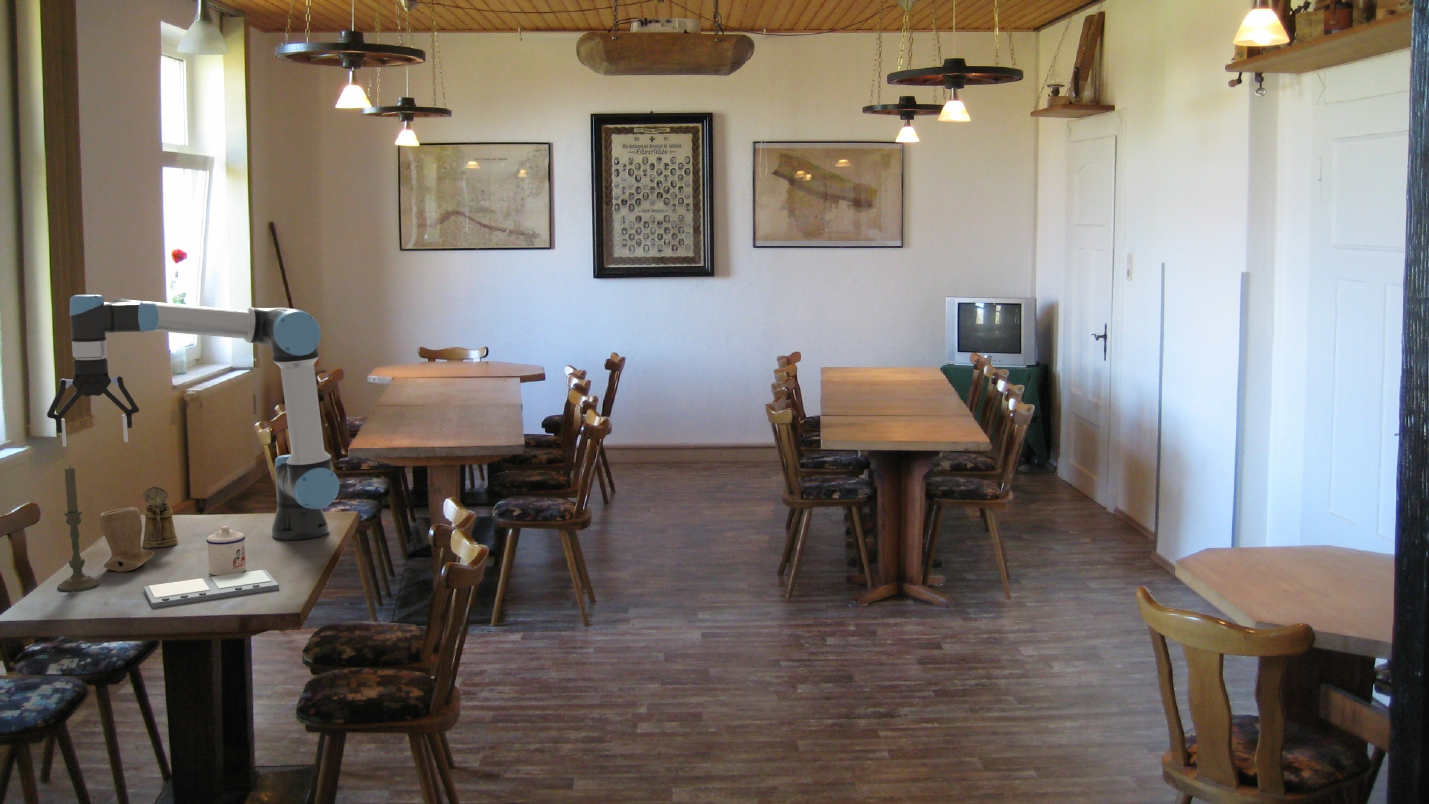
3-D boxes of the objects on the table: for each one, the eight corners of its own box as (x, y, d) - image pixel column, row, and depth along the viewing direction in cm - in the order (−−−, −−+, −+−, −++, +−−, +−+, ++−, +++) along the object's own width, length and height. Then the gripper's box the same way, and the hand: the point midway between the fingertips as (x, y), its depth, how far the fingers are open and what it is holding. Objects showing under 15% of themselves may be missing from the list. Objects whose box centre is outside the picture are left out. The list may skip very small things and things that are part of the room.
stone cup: (113, 558, 324) (109, 502, 322) (160, 557, 325) (156, 501, 323) (90, 574, 309) (86, 516, 307) (140, 573, 310) (135, 515, 308)
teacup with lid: (240, 576, 308) (237, 530, 306) (203, 576, 307) (200, 531, 305) (255, 563, 319) (252, 519, 318) (219, 563, 319) (216, 519, 317)
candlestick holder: (102, 587, 298) (93, 466, 294) (60, 594, 293) (50, 470, 288) (96, 578, 305) (87, 460, 301) (54, 585, 300) (45, 464, 296)
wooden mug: (139, 554, 328) (135, 488, 325) (143, 542, 341) (139, 478, 338) (176, 551, 331) (171, 485, 328) (178, 539, 344) (174, 476, 341)
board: (265, 574, 309) (265, 568, 309) (279, 589, 297) (278, 583, 296) (144, 591, 295) (143, 585, 295) (152, 608, 282) (152, 602, 282)
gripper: (144, 354, 311) (149, 437, 314) (31, 359, 298) (37, 445, 301) (147, 357, 304) (152, 441, 307) (32, 362, 292) (38, 450, 295)
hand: (95, 443), depth 304 cm, fingers open, 13 cm apart
